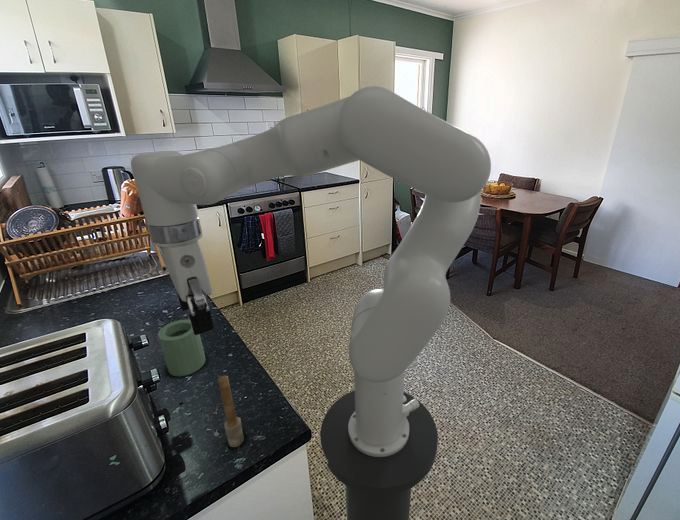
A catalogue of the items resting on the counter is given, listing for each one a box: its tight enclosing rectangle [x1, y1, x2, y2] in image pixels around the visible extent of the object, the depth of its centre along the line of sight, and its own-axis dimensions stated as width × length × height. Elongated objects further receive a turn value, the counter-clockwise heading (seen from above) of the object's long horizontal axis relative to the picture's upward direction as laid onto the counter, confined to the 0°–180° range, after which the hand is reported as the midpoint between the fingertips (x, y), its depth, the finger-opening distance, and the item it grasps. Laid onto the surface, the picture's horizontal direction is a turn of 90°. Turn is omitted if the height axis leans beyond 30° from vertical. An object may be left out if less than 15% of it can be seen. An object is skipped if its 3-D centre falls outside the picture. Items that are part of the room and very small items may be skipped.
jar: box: [157, 318, 206, 377], centre depth 88 cm, size 9×9×11 cm
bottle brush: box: [217, 375, 245, 448], centre depth 66 cm, size 3×3×16 cm
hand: (197, 319), depth 63 cm, fingers open, 9 cm apart
